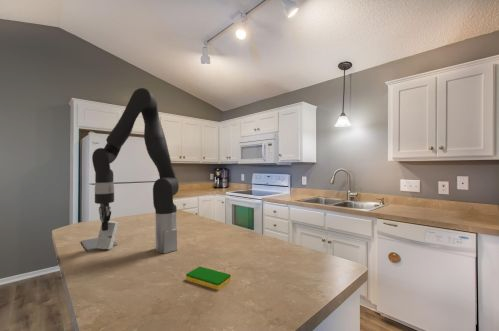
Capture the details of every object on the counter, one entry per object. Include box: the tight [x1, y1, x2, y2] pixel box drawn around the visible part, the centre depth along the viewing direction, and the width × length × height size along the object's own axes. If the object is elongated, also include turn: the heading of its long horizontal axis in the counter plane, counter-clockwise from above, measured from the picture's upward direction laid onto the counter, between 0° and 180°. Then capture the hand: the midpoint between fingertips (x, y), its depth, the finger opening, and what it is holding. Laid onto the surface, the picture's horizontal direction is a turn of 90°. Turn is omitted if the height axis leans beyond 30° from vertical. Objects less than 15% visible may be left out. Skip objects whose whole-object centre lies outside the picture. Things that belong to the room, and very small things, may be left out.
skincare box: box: [95, 220, 119, 250], centre depth 109 cm, size 6×4×12 cm
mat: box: [80, 237, 118, 252], centre depth 117 cm, size 19×12×1 cm, turn 43°
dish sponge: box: [185, 266, 232, 291], centre depth 78 cm, size 7×14×2 cm, turn 61°
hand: (104, 230), depth 106 cm, fingers closed
